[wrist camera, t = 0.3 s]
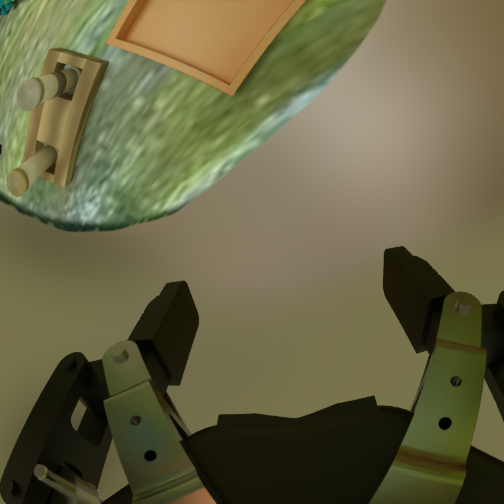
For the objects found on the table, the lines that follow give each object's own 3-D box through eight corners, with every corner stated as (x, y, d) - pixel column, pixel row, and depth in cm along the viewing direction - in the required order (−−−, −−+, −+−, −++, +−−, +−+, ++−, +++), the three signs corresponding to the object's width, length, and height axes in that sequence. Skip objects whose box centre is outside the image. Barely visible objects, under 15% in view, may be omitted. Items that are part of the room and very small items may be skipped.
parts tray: (117, 43, 24) (105, 43, 21) (188, -58, 14) (183, -68, 11) (232, 91, 31) (232, 96, 28) (308, -6, 21) (316, -12, 18)
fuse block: (30, 162, 33) (22, 168, 31) (58, 47, 21) (49, 49, 20) (71, 180, 37) (64, 187, 35) (108, 62, 25) (101, 63, 24)
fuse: (43, 157, 33) (6, 191, 25) (46, 137, 31) (6, 168, 23) (59, 164, 35) (24, 200, 26) (63, 144, 32) (25, 177, 24)
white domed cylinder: (59, 87, 26) (14, 107, 18) (67, 63, 24) (21, 77, 16) (78, 93, 27) (34, 114, 19) (87, 69, 25) (42, 83, 17)
